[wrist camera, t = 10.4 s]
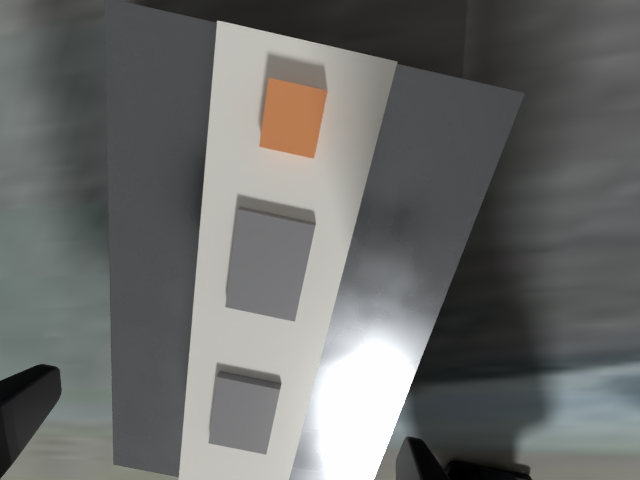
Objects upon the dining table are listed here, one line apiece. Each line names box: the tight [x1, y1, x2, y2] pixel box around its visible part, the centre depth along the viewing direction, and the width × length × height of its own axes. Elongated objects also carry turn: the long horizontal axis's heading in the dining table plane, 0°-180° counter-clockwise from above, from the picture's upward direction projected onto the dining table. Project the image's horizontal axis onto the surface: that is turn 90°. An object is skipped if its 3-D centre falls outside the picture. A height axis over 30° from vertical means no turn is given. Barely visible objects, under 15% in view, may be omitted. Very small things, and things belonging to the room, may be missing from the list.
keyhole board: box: [104, 0, 525, 480], centre depth 17 cm, size 22×14×6 cm, turn 168°
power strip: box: [179, 20, 397, 480], centre depth 14 cm, size 18×4×7 cm, turn 168°
